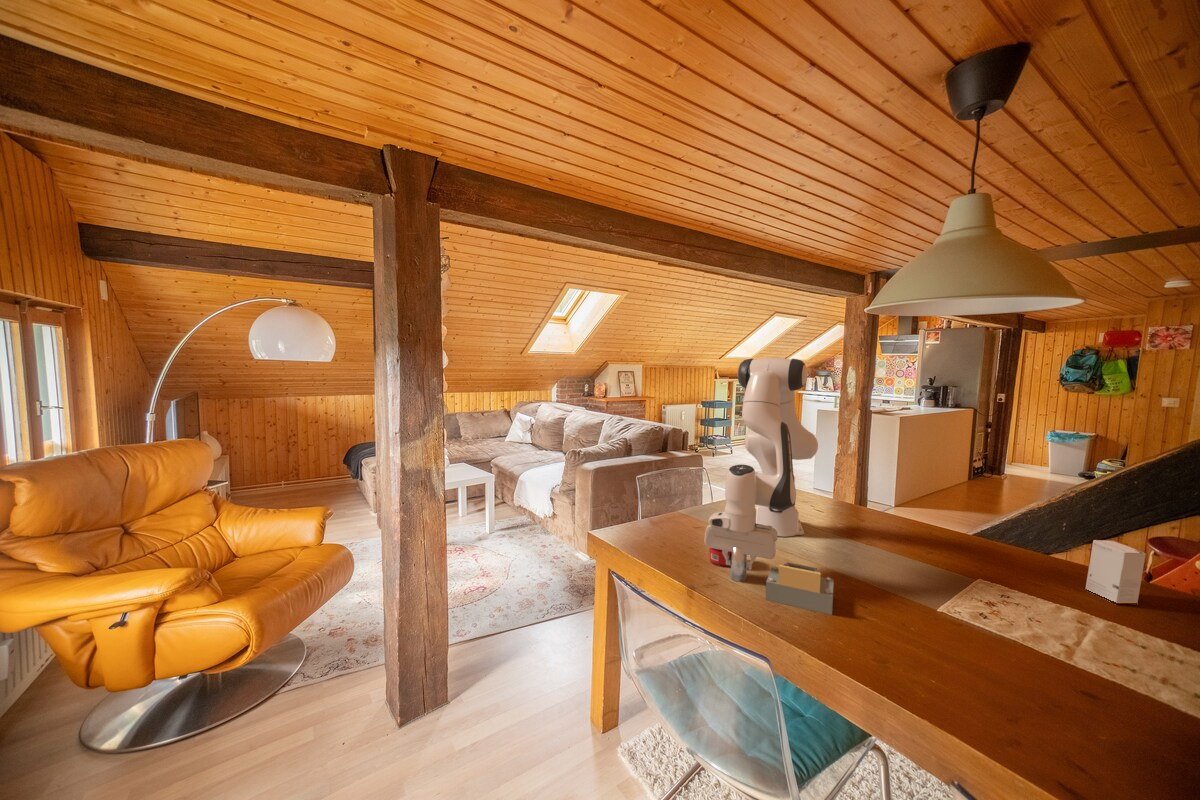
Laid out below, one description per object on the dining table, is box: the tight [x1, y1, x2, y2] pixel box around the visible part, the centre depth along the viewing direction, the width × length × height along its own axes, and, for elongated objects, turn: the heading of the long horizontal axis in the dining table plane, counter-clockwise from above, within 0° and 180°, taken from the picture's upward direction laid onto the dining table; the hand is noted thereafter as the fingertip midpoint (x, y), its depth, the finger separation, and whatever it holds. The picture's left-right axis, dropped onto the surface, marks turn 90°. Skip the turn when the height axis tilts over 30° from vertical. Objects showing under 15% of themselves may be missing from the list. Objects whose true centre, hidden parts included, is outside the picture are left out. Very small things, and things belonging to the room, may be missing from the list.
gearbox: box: [765, 562, 835, 616], centre depth 124 cm, size 10×16×10 cm, turn 62°
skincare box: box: [1085, 539, 1147, 604], centre depth 124 cm, size 8×6×15 cm
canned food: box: [708, 547, 731, 568], centre depth 147 cm, size 8×8×11 cm
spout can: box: [730, 547, 748, 583], centre depth 135 cm, size 4×4×11 cm
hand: (738, 566), depth 135 cm, fingers closed on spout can, 4 cm apart
